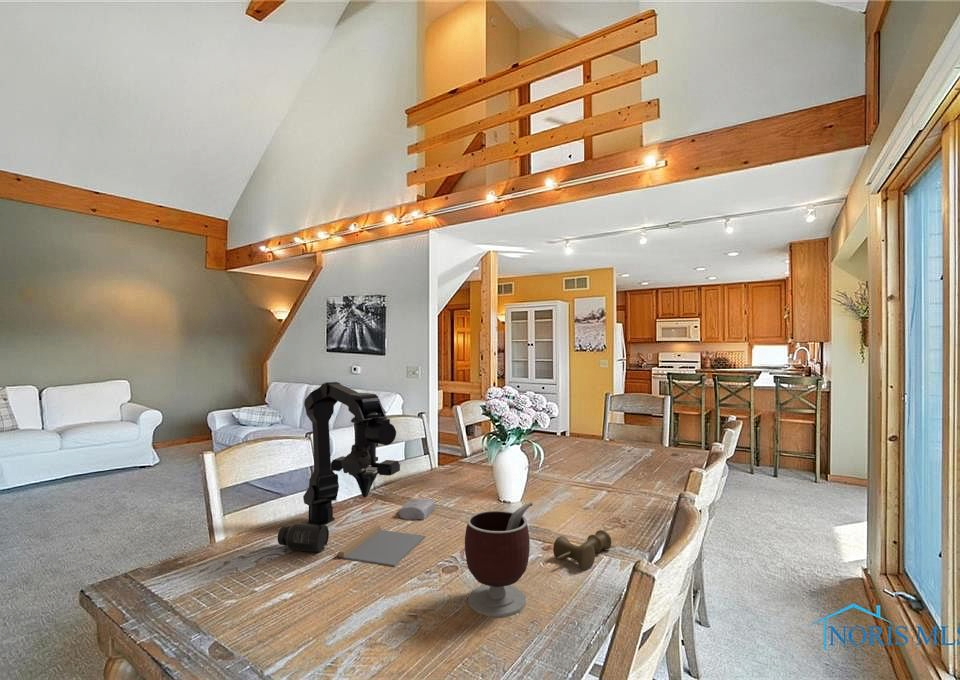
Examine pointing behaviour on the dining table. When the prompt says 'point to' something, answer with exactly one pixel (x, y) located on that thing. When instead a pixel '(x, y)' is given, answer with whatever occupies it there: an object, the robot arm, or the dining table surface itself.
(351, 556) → the mat
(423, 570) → the dining table surface
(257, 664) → the dining table surface
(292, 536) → the supplement bottle
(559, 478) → the dining table surface
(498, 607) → the mate gourd
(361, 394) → the robot arm
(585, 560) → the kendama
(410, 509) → the stone block
